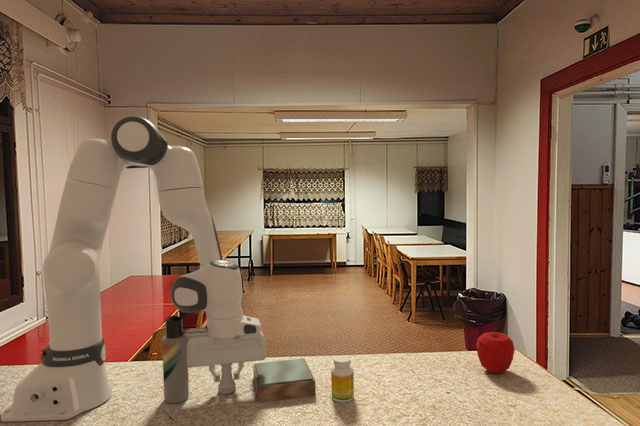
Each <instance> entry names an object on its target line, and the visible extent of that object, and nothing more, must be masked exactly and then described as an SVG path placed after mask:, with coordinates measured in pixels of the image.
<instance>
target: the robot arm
mask: <svg viewBox="0 0 640 426" xmlns="http://www.w3.org/2000/svg"><path fill="white" fill-rule="evenodd" d="M145 168H149V169H151V170H152V171H153V174H154V176H155V177H154V178H155V179H156V188H157V189H156V190H157V197H158V204H159V208H160V210H161V213H162V216H163V217H164V218H165V219H166V220H167V221H168V222H170V223H171V224H173V225H176V226H177V227H180V228H182V229H184V230H185V231H187V232H188V233H189V234H190V235H191V237H192V239H193V240H194V244H195V247H196V248H195V249H196V252H197V258H198V260H199V269H197V270H194V271H191V272H189V273H186V274H183V275H181V276H179V277H177V278H175V280H174V281H173V283H172V284H171V287H170V299H171V302H172V304H173V305H174V307H175V308H176V309H177V310H179V311H180V312H183V313H188V314H189V313H195V312H196V313H197V312H202V311H204V312H205V313H206V326H205V327H198V328H197V327H196V328H193V327H192V328H188V330H185V331H183V335H186V336H187V368H188V369H190V368H201V367H208V370H209V372H210V373H211V375H212V377H213V383H220V381H221V372H217V371H216V367H215V366H221V364H231V363H233V364H237V366H238V367H237V369H236V370H233V379H234V381H235V380H237V381H238V380H240V378H241V377H240V376H241V375H240V373H242V370H243V369H244V366H245V365H244V363H248V362H249V363H250V362H258V361H259V362H260V361H265V360H266V358H267V357H268V350H267V349H268V348H267V342H266V340H265V339H266V337H265V336H264V332H263V330H262V324H261V321H260V320H259V318H257V317H253V316H248V315H244V311H243V306H242V300H243V281H242V275H241V270H240V267H239V265H238V264H236V263H235V262H234V261H230V260H225V259H224V258H223V254H222V251H221V246H220V241H219V237H218V233H217V228H216V225H215V222H214V219H213V217H212V214H211V213H210V211H209V208H208V205H207V199H206V197H205V192H204V184H203V183H204V182H203V179H202V174H201V169H200V166H199V163H198V159H197V157H196V153H194V151H193V150H192V149H190V148H188V147H186V146H183V145H182V146H181V145H169V143H168V141H167V140H166V138H165V137H164V136H163V135H162V133H161V132H160V130H159V129H158V128H157V126H155V124H153V123H152V122H151V121H150V120H148V119H146V118H143V117H140V116H133V115H131V116H126V117H123V118H121V119H120V120H119V121H118V122H116V123H115V124H114V126H113V128H112V130H111V133H110V139H104V138H88V139H85V140H83V141H81V143H80V144H79V145H78V147H77V149H76V151H75V153H74V156H73V158H72V161H71V163H70V165H69V169H68V172H67V175H66V179H65V183H64V187H63V191H62V195H61V199H60V202H59V203H60V204H59V207H58V211H57V217H56V222H55V225H54V231H53V235H52V240H51V244H50V248H49V251H48V253H47V255H46V257H45V258H44V261H43V264H42V265H43V266H42V271H43V272H42V273H43V284H44V285H43V286H44V294H45V302H46V310H47V319H48V321H47V323H48V338H49V339H48V340H49V341H48V343H47V344H45V346H44V348H43V349H42V350H40V353H39V354H38V355H37V356H38V360H39V361H40V360H41V363H39V364H38V365H37V366H36V367H35V368H34V369H32V370H31V371H29V373H28V374H26V375H25V376H24V377H23V378H22V379H21V380H20V381H19V382H18V384H17V385H16V387H15V389H14V392H13V396H12V400H10V401H9V402H7V403H6V405H5V406H4V408H3V409H2V411H1V414H0V420H1V422H37V421H41V422H42V421H65V420H70V419H72V418H75V417H76V416H78V415H79V414H81V413H83V412H87V411H89V410H92V409H94V408H96V407H98V406H101V405H102V404H104V403H106V402H107V401H108V400H109V399H110V398H111V397H112V395H113V390H112V388H111V385H110V383H109V379H108V375H107V371H106V370H107V369H106V365H105V364H106V363H105V361H106V344H105V338H104V337H103V326H102V324H103V323H102V307H101V305H102V304H101V279H100V278H101V277H100V256H101V252H102V249H103V245H104V242H105V237H106V233H107V230H108V227H109V224H110V219H111V215H112V211H113V208H114V207H113V206H114V203H115V198H116V194H117V191H118V187H119V182H120V179H121V175H122V173H123V171H124V170H125V169H128V170H129V169H145Z"/></svg>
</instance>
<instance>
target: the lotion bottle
mask: <svg viewBox="0 0 640 426" xmlns="http://www.w3.org/2000/svg"><path fill="white" fill-rule="evenodd" d="M183 333H184V328H183V317H182V316H180V315H170V316H168V317H167V318H165V336H163V337H162V339H161V344H162V345H161V348H162V375H163V376H162V377H163V396H164V397H163V398H164V401H165V402H166V403H167V404H172V405H173V404H179V403H182V402H185V401H186V400H187V399H188V398H189V394H190V390H189V389H190V386H189V384H190V383H189V382H190V381H189V368H187V336H186V335H183Z"/></svg>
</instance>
